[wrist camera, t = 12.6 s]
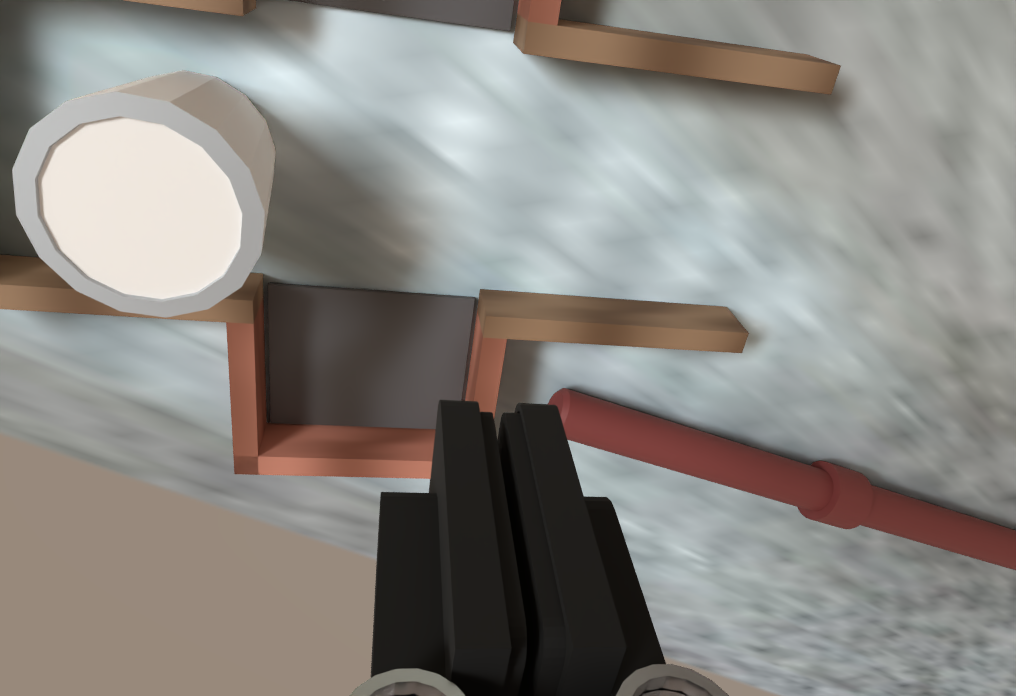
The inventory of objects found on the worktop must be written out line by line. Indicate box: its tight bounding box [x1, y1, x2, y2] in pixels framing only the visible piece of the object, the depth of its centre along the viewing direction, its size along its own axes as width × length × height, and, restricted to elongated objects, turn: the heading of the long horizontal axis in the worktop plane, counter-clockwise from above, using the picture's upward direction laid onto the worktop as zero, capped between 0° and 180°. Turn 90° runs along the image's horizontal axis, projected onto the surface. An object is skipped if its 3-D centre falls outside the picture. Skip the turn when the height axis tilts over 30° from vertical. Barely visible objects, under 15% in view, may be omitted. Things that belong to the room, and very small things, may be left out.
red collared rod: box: [548, 388, 1016, 570], centre depth 41 cm, size 45×3×3 cm, turn 65°
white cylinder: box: [12, 70, 276, 318], centre depth 24 cm, size 7×7×7 cm
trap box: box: [0, 0, 841, 479], centre depth 27 cm, size 32×27×4 cm
